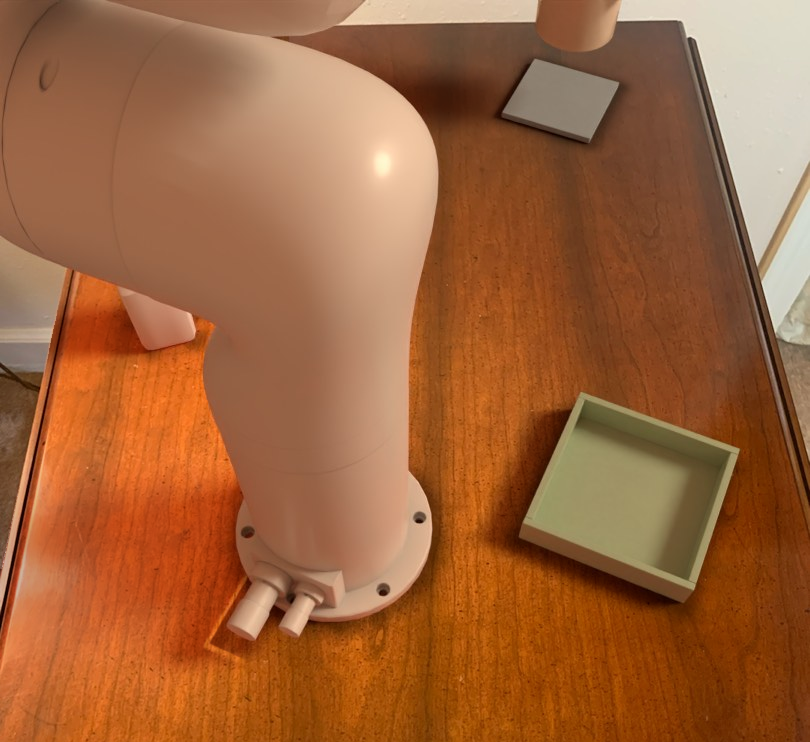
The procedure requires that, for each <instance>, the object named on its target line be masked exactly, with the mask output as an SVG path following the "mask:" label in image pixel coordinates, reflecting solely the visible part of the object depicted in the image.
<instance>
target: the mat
mask: <svg viewBox="0 0 810 742" xmlns="http://www.w3.org/2000/svg"><path fill="white" fill-rule="evenodd" d="M619 85H620V82H619V81H616V80H612V79H610V78H609V79H608V78H604V77H601V76H598V75H594V74H592V73H587V72H584V71H580V70H577V69H572V68H570V67H566V66H563V65H559V64H555V63H552V62H548V61H545V60H542V59H538V58H534V59H533V60H532V62H531V64H530V65H529V66H528V69H527V70H526V71H525V73H524V74H523V77H522V78H521V80H520V82H519V84H518V85H517V87H516V88H515V90H514V92H513V94H512V95H511V97H510V98H509V100H508V102H507V103H506V105H505V107H504V109H503V110H502V112H501V118H503V119H506V120H509V121H511V122H516V123H520V124H522V125H525V126H529V127H533V128H535V129H540V130H543V131H546V132H549V133H552V134H555V135H559V136H562V137H565V138H569V139H573V140H576V141H579V142H582V143H586V144H590V142H591V140H592V138H593V136H594V134H595V133H596V131H597V129H598V126H599V124H600V122H601V121H602V120H603V117H604V115H605V114H606V111H607V109H608V108H609V106H610V104H611V102H612V100H613V98H614V96H615V94H616V93H617V91H618V88H619Z"/></svg>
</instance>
